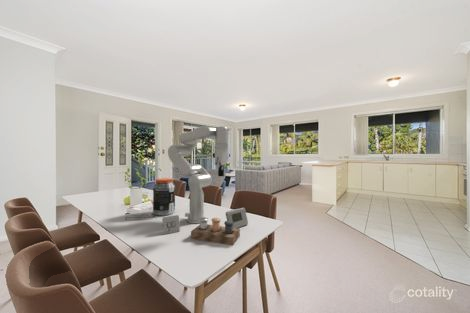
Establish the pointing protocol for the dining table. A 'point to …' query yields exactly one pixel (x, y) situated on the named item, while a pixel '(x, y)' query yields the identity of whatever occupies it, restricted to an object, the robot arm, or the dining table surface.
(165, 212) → the supplement tub
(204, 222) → the grey peg
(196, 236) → the walnut block
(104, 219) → the dining table surface
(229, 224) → the charcoal peg
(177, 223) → the electrical switch
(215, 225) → the terracotta peg
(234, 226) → the digital clock
